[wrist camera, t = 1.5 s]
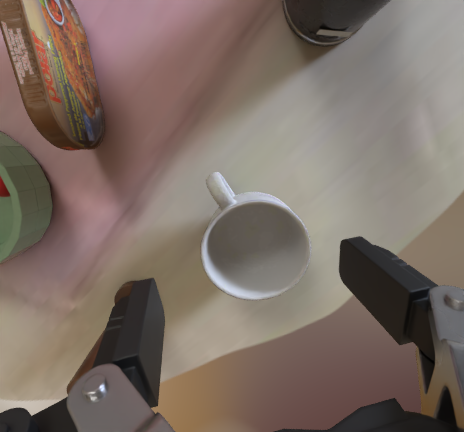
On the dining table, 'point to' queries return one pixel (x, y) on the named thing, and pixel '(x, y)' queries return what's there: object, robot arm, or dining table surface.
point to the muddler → (92, 354)
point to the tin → (54, 71)
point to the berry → (3, 189)
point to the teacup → (253, 244)
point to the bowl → (21, 200)
